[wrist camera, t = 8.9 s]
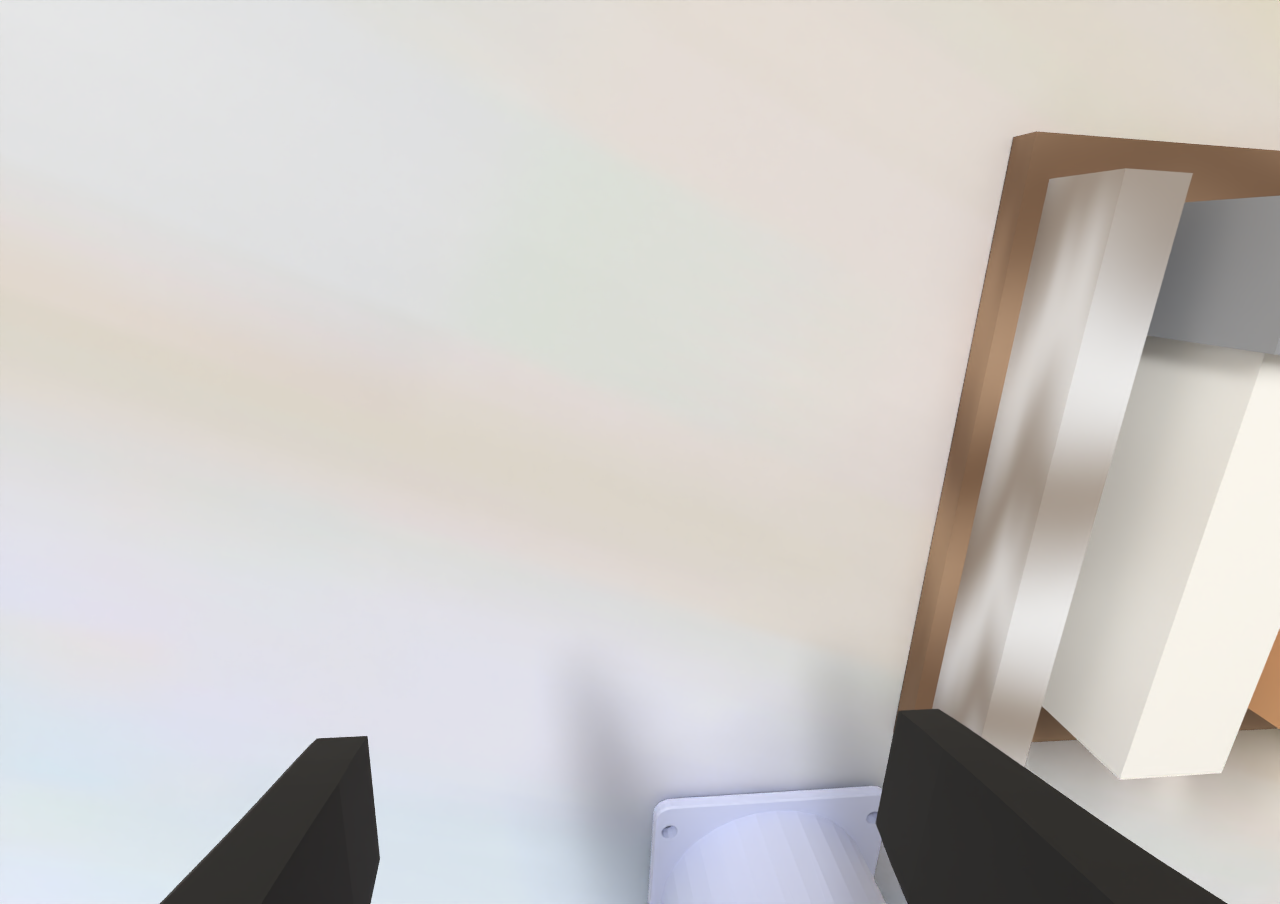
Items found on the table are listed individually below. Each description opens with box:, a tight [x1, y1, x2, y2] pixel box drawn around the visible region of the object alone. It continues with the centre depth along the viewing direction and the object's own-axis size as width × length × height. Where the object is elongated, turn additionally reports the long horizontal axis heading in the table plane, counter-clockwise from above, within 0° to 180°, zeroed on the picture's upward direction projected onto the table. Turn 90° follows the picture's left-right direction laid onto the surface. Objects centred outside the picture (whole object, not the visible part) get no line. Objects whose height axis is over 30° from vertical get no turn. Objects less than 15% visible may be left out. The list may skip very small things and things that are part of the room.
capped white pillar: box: [1042, 196, 1280, 780], centre depth 16 cm, size 14×4×4 cm, turn 177°
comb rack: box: [894, 132, 1280, 767], centre depth 18 cm, size 18×16×3 cm
